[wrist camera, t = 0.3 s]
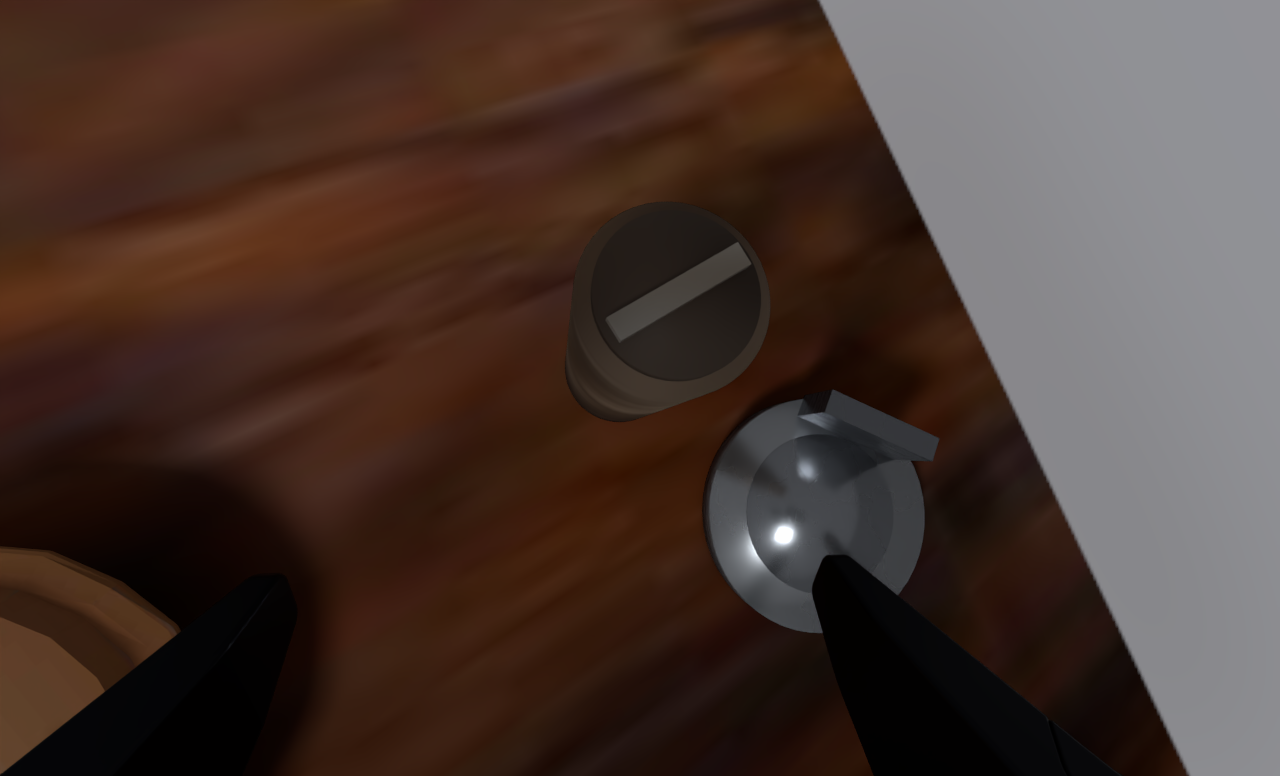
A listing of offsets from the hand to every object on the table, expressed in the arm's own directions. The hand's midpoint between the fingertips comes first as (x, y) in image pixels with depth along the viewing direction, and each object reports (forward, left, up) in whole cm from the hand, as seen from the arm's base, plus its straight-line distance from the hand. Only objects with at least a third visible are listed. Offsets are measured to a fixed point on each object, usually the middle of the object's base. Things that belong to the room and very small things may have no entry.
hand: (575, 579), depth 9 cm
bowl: (-6, -9, -14) cm, 17 cm away
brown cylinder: (+4, -5, -14) cm, 15 cm away
